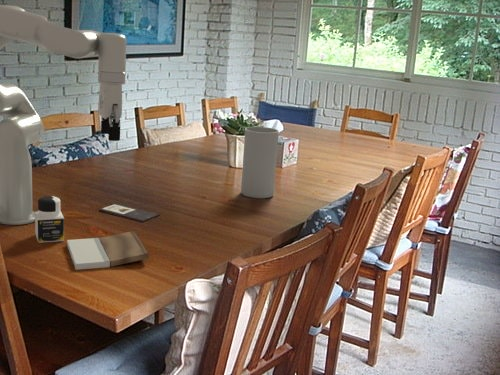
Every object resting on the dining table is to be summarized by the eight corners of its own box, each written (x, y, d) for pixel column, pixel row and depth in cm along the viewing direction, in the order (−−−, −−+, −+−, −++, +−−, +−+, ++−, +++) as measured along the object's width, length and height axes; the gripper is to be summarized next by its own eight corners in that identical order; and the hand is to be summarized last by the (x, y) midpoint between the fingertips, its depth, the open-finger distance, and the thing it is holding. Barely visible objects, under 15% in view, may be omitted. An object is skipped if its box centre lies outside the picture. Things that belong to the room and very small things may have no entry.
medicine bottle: (37, 243, 179) (37, 202, 176) (35, 234, 186) (34, 195, 182) (64, 241, 182) (64, 200, 179) (60, 233, 188) (60, 193, 185)
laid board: (75, 269, 163) (75, 263, 163) (67, 245, 179) (67, 239, 179) (109, 267, 166) (109, 260, 166) (98, 243, 182) (98, 237, 182)
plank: (111, 266, 167) (110, 261, 166) (99, 242, 183) (98, 237, 182) (148, 258, 170) (148, 252, 169) (134, 235, 186) (133, 230, 185)
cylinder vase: (236, 190, 248) (240, 126, 241) (267, 189, 252) (272, 126, 245) (246, 199, 236) (251, 132, 230) (278, 198, 240) (283, 133, 234)
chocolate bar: (143, 220, 203) (99, 209, 211) (142, 223, 203) (99, 212, 211) (159, 214, 211) (116, 203, 219) (159, 217, 211) (116, 206, 219)
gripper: (92, 73, 188) (91, 131, 192) (105, 81, 173) (103, 143, 177) (117, 74, 191) (115, 131, 195) (132, 82, 176) (130, 143, 180)
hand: (110, 137), depth 186 cm, fingers open, 9 cm apart
